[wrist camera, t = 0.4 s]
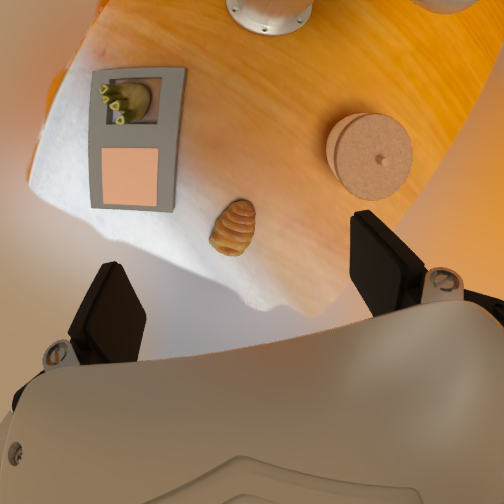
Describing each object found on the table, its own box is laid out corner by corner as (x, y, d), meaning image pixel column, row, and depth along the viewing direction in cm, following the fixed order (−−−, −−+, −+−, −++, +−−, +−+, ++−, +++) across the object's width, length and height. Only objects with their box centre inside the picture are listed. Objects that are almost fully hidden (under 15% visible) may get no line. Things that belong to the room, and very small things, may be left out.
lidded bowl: (327, 191, 46) (353, 219, 36) (304, 120, 39) (330, 129, 30) (389, 168, 44) (425, 190, 35) (373, 100, 38) (412, 107, 28)
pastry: (226, 192, 44) (226, 201, 41) (264, 205, 46) (268, 215, 43) (207, 241, 49) (206, 252, 45) (243, 251, 50) (245, 263, 47)
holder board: (99, 72, 31) (91, 71, 29) (187, 69, 33) (184, 67, 31) (96, 202, 42) (90, 208, 40) (174, 206, 44) (172, 213, 42)
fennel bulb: (153, 117, 36) (128, 125, 26) (123, 120, 36) (90, 131, 26) (153, 80, 33) (128, 75, 23) (122, 84, 33) (88, 83, 23)
